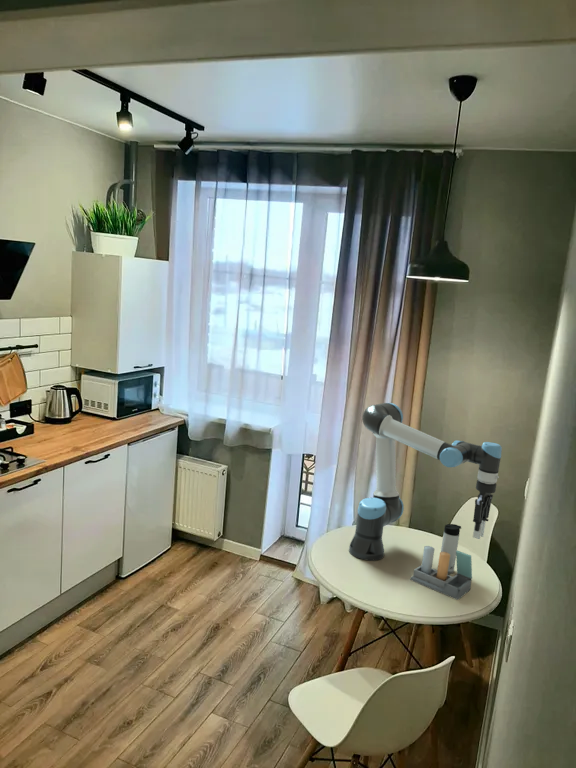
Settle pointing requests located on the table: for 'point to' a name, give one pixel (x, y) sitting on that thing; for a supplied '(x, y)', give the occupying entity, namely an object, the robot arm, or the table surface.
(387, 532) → the table surface
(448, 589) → the housing
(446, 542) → the travel mug
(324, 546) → the table surface
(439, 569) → the orange capsule
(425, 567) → the ball
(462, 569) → the lid
